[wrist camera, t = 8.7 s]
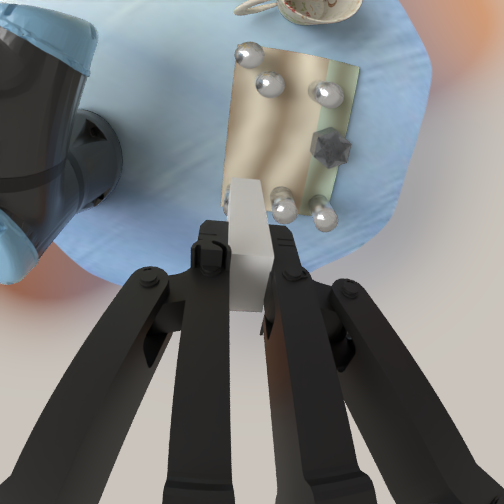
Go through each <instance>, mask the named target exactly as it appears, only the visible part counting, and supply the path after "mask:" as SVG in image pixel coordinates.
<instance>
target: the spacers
mask: <svg viewBox="0 0 504 504" xmlns="http://www.w3.org/2000/svg"><path fill="white" fill-rule="evenodd" d="M264 56H265V54H264V50H263V48H262V47H261V46H260V45H259V44H257V43H254V42H245V43H242V44H241V45H239V46H238V47H237V49H236V51H235V59H236V61H237V63H238V64H239V65H240V66H242V67H244V68H247V69H251V68H255V67H257V66H259V65H260V64H261V63H262V62H263V60H264ZM254 84H255V87H256V89H257V91H258V92H259V93H260V94H261V95H262V96H264V97H266V98H275V97H277V96H279V95H280V94H281V93H282V92H283V91H284V88H285V82H284V79H283V77H282V76H281V75H280V74H278V73H276V72H273V71H263V72H261V73H259V74H258V75H257V76H256V78H255V81H254ZM308 95H309V97H310V98H311V99H312V100H313V101H314V102H316V103H318V104H320V105H322V106H324V107H326V108H330V109H333V108H337V107H338V106H340V105H341V104H342V102H343V100H344V92H343V90H342V88H341V87H340V86H339V85H337V84H335V83H332V82H327V81H322V80H316V81H314V82H312V83H311V84H310V85H309V87H308ZM230 185H231V183H230V184H229V185H228V186H227V188H226V192H225V199H224V206H223V210H224V213H225V215H226V216H227V214H228V204H229V194H230ZM270 201H271V206H272V212H273V217H274V219H275V220H276V221H277V222H278V223H280V224H289V223H291V222H293V221H294V220H295V219H296V217H297V209H296V205H295V202H294V199H293V196H292V193H291V191H290V190H289V189H288V188H287V187H284V186H278V187H276V188H274V189H273V190H272V191H271V193H270ZM308 207H309V210H310V213H311V215H312V218H313V220H314V223H315V225H316V227H317V229H318V230H320V231H322V232H329V231H331V230H333V229H334V228H335V227H336V226H337V224H338V217H337V215H336V214H335V212H334V210H333V208H332V206H331V204H330V202H329V201H328V199H327V198H326V197H325V196H324V195H315V196H313V197H312V198H311V199H310V200H309V202H308Z"/></svg>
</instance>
